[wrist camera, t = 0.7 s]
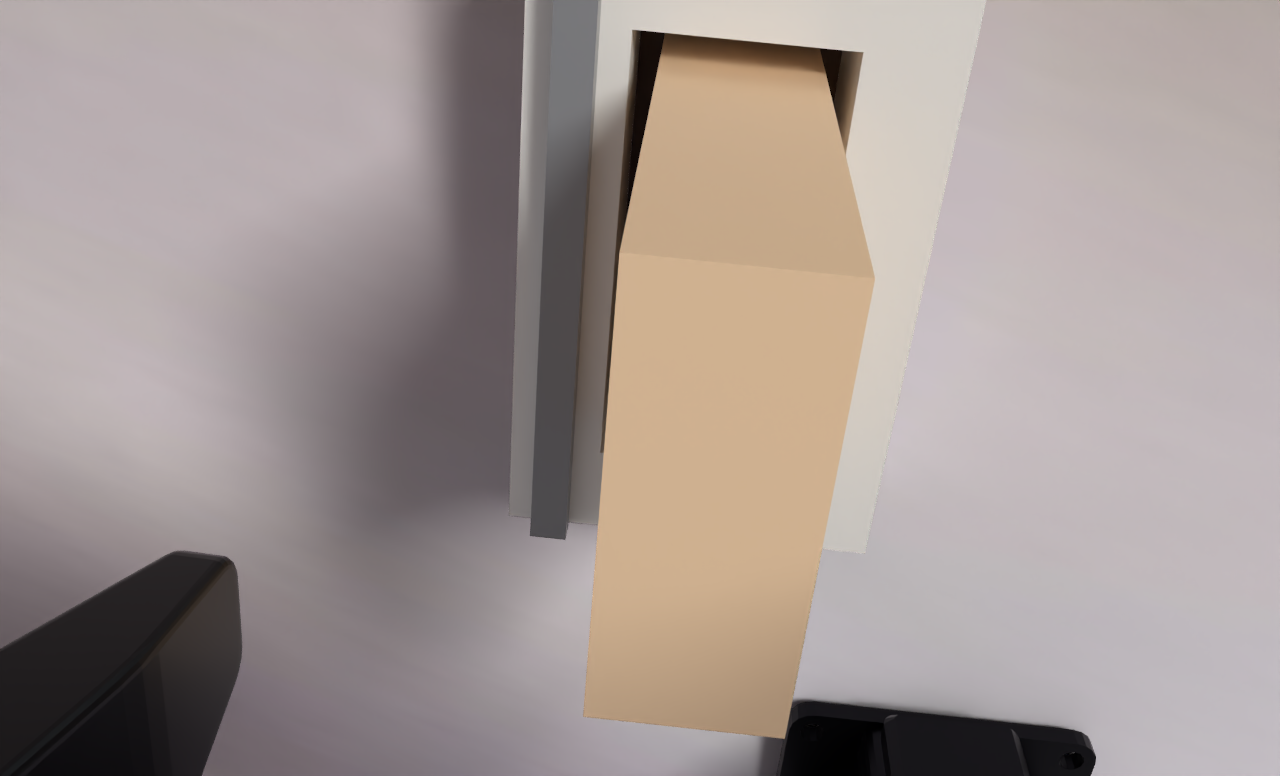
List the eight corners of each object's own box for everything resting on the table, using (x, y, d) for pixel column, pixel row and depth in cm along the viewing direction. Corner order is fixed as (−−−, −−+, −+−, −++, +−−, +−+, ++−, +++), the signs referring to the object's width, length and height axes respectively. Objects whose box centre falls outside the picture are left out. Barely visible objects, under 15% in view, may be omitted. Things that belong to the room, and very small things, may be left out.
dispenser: (852, 472, 23) (867, 571, 20) (529, 439, 23) (503, 533, 20) (966, -82, 18) (1005, -44, 15) (552, -122, 18) (522, -91, 15)
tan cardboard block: (767, 370, 22) (785, 738, 14) (636, 356, 22) (582, 716, 14) (817, 40, 19) (874, 278, 11) (666, 25, 19) (619, 252, 11)
